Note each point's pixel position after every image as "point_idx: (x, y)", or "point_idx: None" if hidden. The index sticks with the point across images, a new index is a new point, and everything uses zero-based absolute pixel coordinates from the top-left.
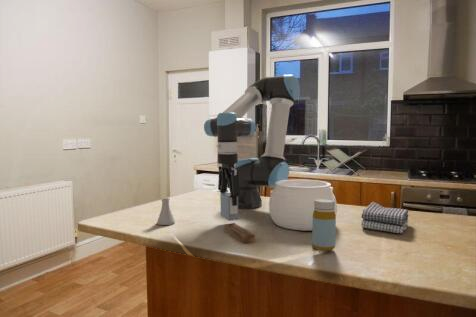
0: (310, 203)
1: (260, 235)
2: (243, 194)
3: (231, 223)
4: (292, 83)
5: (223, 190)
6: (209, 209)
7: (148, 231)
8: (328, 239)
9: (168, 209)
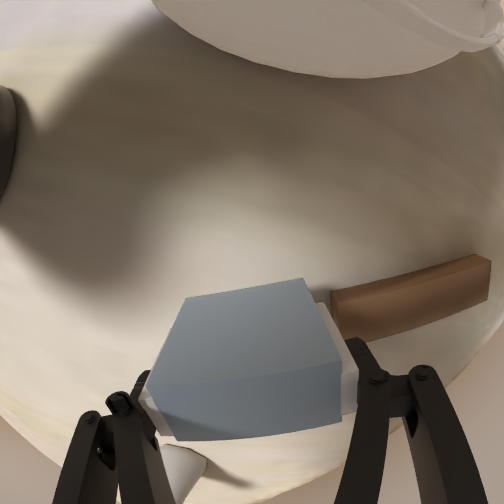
0: None
1: (433, 207)
2: None
3: (340, 318)
4: None
5: (147, 434)
6: (6, 305)
7: (255, 484)
8: None
9: (180, 491)
